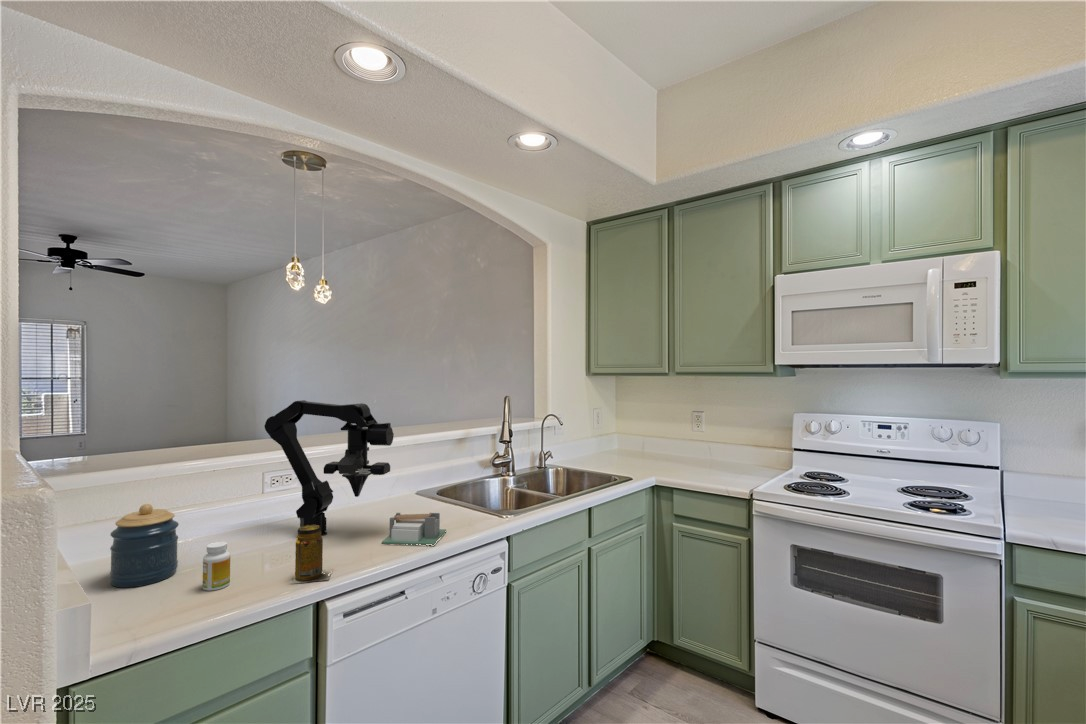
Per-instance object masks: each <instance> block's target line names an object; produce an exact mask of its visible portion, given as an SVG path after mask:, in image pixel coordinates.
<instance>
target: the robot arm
mask: <svg viewBox="0 0 1086 724" xmlns="http://www.w3.org/2000/svg"><path fill="white" fill-rule="evenodd" d="M305 415H310V416H320V417H327V418H328V417H329V418H335V419H338V420H340V421H343V422H345V424H344V425H343V426H342V427H340V430H341V431H347V449H345V451H344V455H343V457H341V459H339V461H331V462H328V463H325V464H324V467H323V474H325V475H327V474H328V475H333V474H335V472H338V474H339V475H341V476H342V478H345V479H347V481H348V482H349V484H350V487H351V489H352V493H353V495H354V497H355V498H358V497H360V495H361V491H362V490H363V487H364V485H365V483H366V481H367V479H368V477H369V476H370V475H372V476H384V475H386V474H388V473H390V472H391V465H390V463H389V462H383V461H382V462H381V461H380V462H375V463H373V464H370V460H368V451H370V446H391V445H392V444H393V443H394V442H393V441H394V431H393V428H392V426H391V423H390V422H385V423H380V422H379V423H378V421H377V420H376V418H375V417H374V416H373V415H372V413H371V409H370V407H369V406H368V404H366V403H363V402H362V403H352V404H334V403H325V402H317V401H316V402H315V401H308V400H295V401H293V402H292V403H291V404H289V405H288V406H287V407H285V408H283V409H282V410H280V411H278V413H276V414H274V415H272V416H269V417H268V418H267V419H266V420H265V424H264V431H266V433H267V434H268V436H269V437H270V439H272V440H273V441H274V442H275V443H277V444H278V445H280V447H281V449H282V451H283V452H284V454H285V457H286V458H287V461H288V462H289V465H290V466H291V468H292V470H293V472H294V474H295V476H296V478H297V480H298V482H299V483H300V486H301V498H302V502H303V503H302V505H301V506H300V507H299V508H297V509H296V511H295V513H296V516H297V519H299V528H300V527H303V526H307V525H318V526H321V536H325V535H327V534H328V532H327V517H326V515H325V514H326V513H325V512H327V511H328V508H329V506H330V505H331V504H332V503H333V500H334V494H333V492H334V490H333V489H332V488H331V486H330V483H329V481H328V480H325V481H321V480H320V479H319V478H318V476H317V475H316V473H315V471H314V469H313V467H312V465H311V463H310V461H309V459H308V458H307V455H306V453H305V451H304V450H303V449H304V448H303V447H302V445H301V443H300V442H299V440H298V428H297V425H296V424H297V423H298V422H299V421H300V420H301V419H302V418H303V417H304V416H305ZM368 444H369V445H370V446H368Z"/></svg>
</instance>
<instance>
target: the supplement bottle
mask: <svg viewBox="0 0 1086 724" xmlns="http://www.w3.org/2000/svg"><path fill="white" fill-rule="evenodd" d="M227 549H228V543H227V542H226V541H215V542H212V543H209V544H207V545H206V554H204V556H203V557H202V589H203V591H209V592H210V591H217V590H222V589H225V588H227V587H228V586H229V585H230V583H231V553H230V551H228V550H227Z"/></svg>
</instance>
